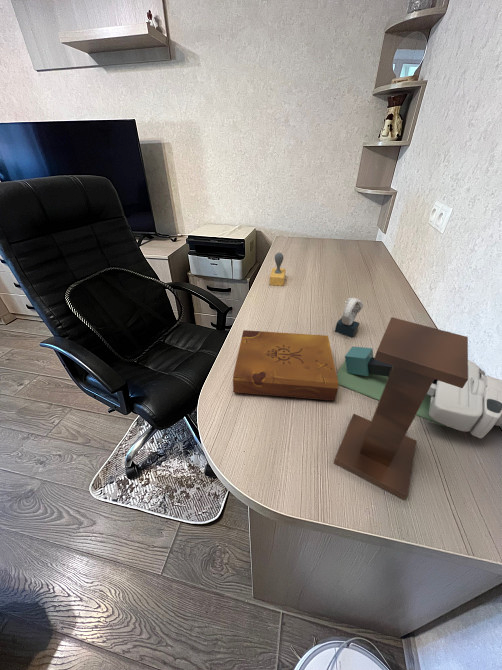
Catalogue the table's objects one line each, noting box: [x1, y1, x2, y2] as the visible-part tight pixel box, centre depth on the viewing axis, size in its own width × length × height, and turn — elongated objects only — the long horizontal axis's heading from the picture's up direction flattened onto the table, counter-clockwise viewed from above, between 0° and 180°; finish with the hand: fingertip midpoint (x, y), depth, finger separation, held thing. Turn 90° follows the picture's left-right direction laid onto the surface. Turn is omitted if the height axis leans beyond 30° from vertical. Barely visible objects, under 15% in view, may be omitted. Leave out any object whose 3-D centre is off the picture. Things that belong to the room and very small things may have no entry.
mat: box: [336, 359, 448, 428], centre depth 66 cm, size 24×12×1 cm, turn 57°
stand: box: [333, 316, 469, 501], centre depth 45 cm, size 12×12×26 cm
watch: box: [334, 297, 364, 339], centre depth 83 cm, size 6×8×11 cm
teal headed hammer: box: [344, 346, 438, 384], centre depth 64 cm, size 5×19×5 cm, turn 52°
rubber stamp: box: [269, 252, 287, 287], centre depth 114 cm, size 10×6×12 cm, turn 171°
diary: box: [232, 329, 339, 402], centre depth 69 cm, size 23×19×6 cm
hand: (411, 372), depth 62 cm, fingers closed on teal headed hammer, 3 cm apart
